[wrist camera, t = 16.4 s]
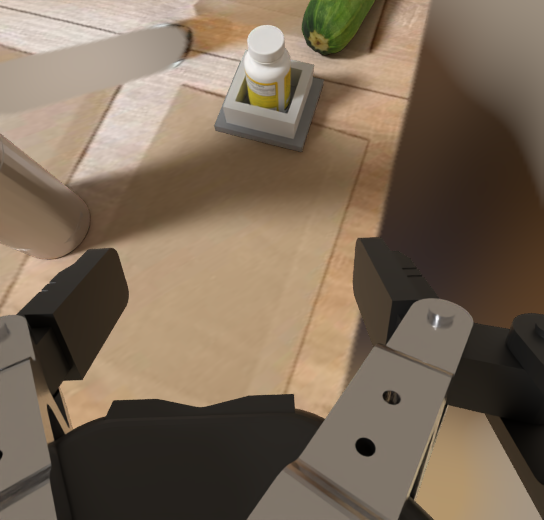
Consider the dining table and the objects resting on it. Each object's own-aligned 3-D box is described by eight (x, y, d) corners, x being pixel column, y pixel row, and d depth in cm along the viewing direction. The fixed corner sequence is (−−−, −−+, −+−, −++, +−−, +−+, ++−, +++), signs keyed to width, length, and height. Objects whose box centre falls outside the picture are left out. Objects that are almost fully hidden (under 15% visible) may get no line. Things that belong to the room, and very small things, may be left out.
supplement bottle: (275, 80, 47) (274, 11, 38) (297, 108, 46) (301, 44, 37) (242, 99, 47) (231, 33, 37) (263, 127, 45) (258, 67, 36)
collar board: (215, 130, 47) (209, 110, 43) (241, 66, 49) (237, 41, 46) (301, 152, 45) (303, 132, 42) (323, 85, 48) (326, 61, 44)
